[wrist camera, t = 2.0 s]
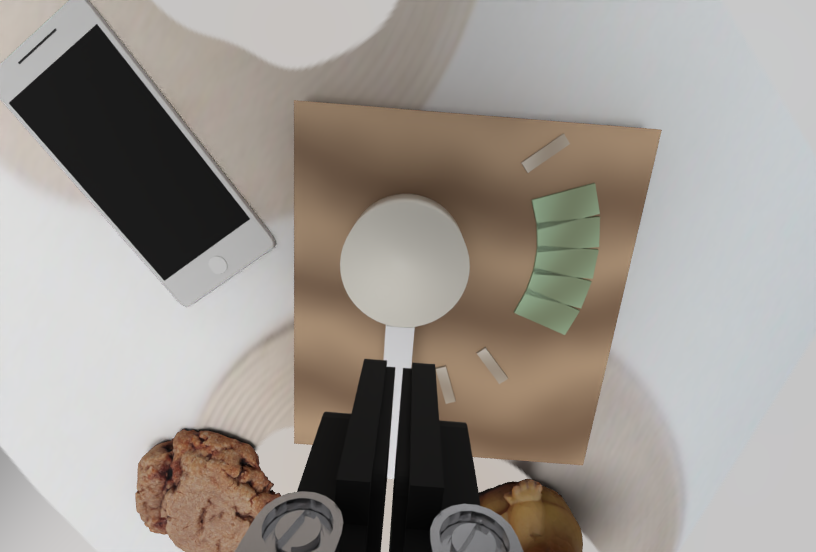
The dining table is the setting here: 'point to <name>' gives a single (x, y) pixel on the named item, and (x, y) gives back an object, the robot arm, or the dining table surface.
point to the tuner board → (474, 264)
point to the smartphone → (130, 153)
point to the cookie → (202, 490)
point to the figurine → (535, 516)
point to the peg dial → (404, 276)
